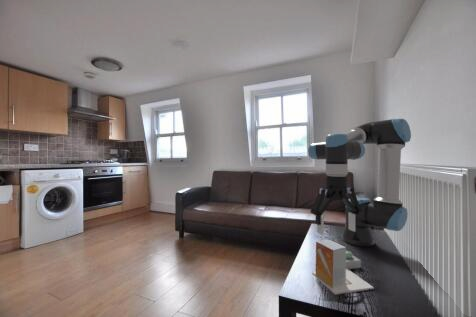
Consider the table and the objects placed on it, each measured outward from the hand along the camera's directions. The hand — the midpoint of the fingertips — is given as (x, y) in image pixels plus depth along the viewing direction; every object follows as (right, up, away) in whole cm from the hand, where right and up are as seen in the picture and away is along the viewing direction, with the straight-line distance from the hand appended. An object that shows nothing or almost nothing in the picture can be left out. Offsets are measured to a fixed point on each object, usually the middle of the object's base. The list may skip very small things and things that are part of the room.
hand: (336, 231), depth 79 cm
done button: (+9, -14, +9) cm, 19 cm away
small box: (-4, -16, -4) cm, 17 cm away
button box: (+9, -17, +9) cm, 21 cm away
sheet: (0, -17, -3) cm, 17 cm away
